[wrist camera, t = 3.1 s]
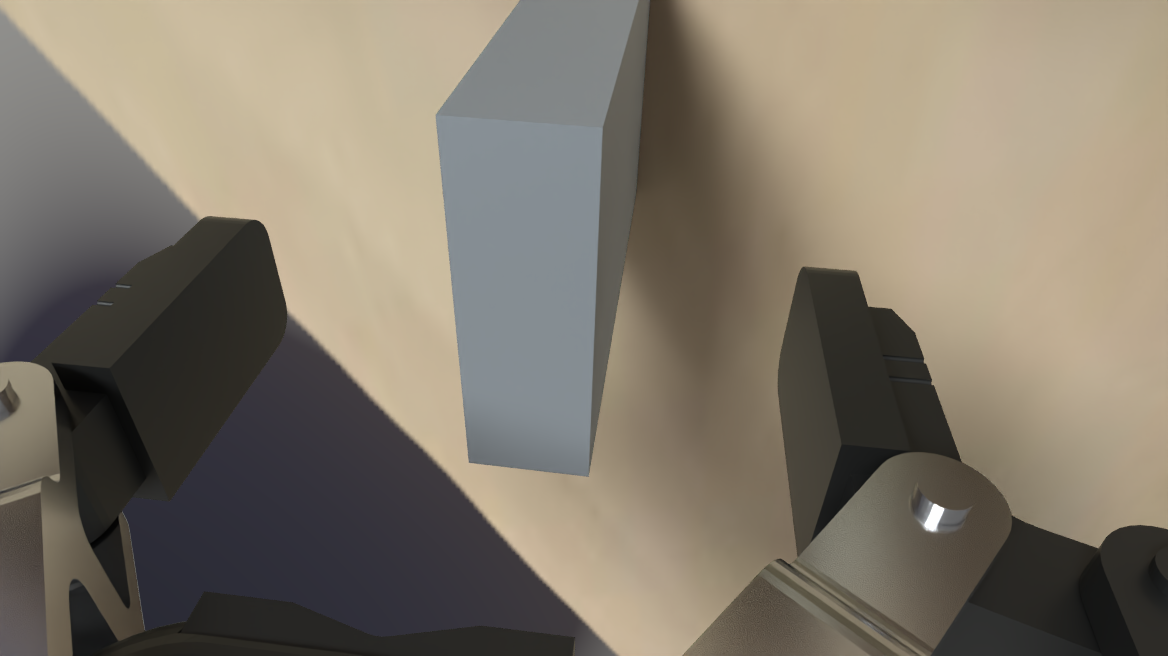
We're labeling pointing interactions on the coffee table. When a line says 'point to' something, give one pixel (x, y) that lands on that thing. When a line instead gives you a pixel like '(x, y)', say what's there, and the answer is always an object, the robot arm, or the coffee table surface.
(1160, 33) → the coffee table surface
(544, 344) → the grey domino
